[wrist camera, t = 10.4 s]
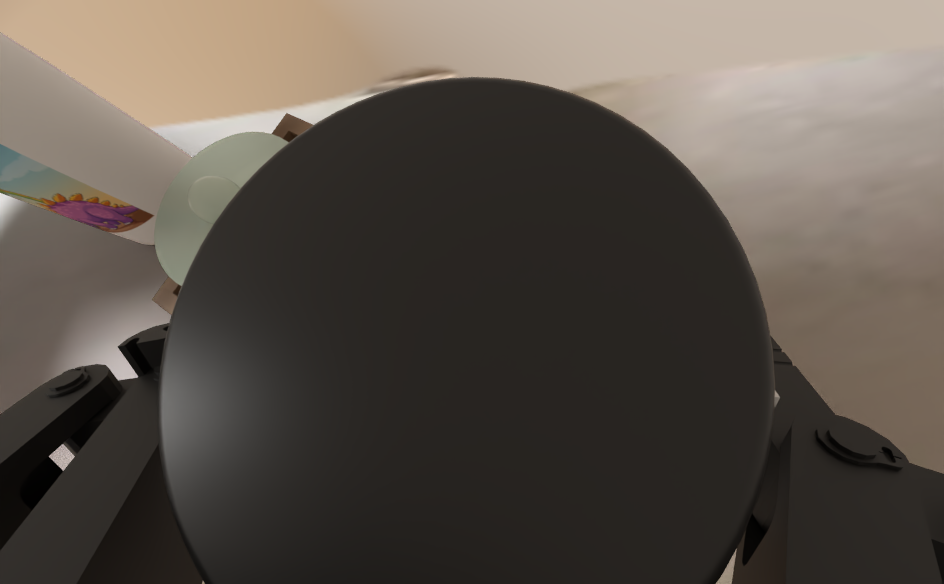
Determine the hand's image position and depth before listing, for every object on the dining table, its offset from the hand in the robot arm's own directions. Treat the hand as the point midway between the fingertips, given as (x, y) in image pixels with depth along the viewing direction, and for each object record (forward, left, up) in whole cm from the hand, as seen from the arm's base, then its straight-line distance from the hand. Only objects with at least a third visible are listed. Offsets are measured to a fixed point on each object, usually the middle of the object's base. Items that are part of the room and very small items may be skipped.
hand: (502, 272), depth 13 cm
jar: (+1, -3, -4) cm, 6 cm away
